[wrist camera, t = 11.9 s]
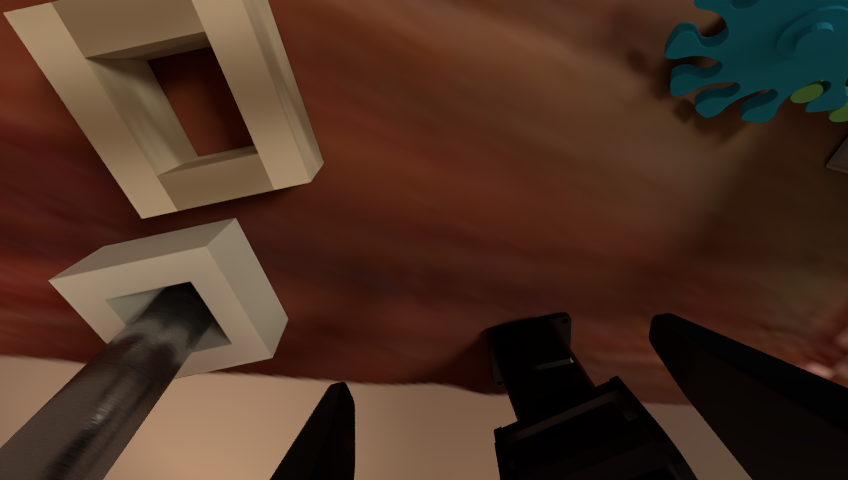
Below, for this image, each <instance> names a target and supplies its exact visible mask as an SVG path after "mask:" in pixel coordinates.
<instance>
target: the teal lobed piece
mask: <svg viewBox="0 0 848 480" xmlns="http://www.w3.org/2000/svg"><path fill="white" fill-rule="evenodd" d="M694 4H695V6H696V7H697V8H699V9H703V10H710V11H713V12H716V13H717V14H719V15H720V16H721V17H722V18H723V19H724V20H725V22H726V24H727V27H726V28H725V29H724V30H723V31H722V32H721V33H719V34H717V35H715V36H712V37H703V36H701V35H700V34H699V31H698V29H697V27H696V25H695V24H693V23H691V22H683V23H679V24H678V25H677V26H676V27H675V28H674V30H673V31H672V33H671V34H670V36H669V38H668V40H667V42H666V44H665V55H664V56H665V57H666V58H669V59H679V58H683V57H689V56H705V57H709V58H712V59H715V60H717V61H719V62H717V63H716V64H715V65H713V66H711V67H708V68H698V67H696V66H693V65H690V64H683V65H679V66H676V67H675V68H673V69H672V72H671V80H670V89H671V94H672V96H681V95H684V94H687V93H689V92H690V91H692V90H694V89H697V88H699V87H702V86H705V85H709V84H713V83H721V82H735V83H734V84H732V85H731V86H728V87H725V88H713V89H707V90H704V91H702V92H700V93H699V94H697V95H696V96H695V109H696V111H697V112H698V113H699V114H701V115H702V116H704V117H705V118H710V117H713V116H715V115H718V114H719V113H720V112H722V111H723V110H724V109H725V108H726V107H727V106H728V105H730V104H731V103H733V102H734V101H736V100H738V99H740V98H742V97H744V96H747V95H749V94H752V93H755V92H758V91H761V90H765V89H771V90H770V91H768V92H766V93H763V94H760V95H757V96H755V97H752V98H750V99H748V100H746V101H745V102H744V103H743V104H742V105H741V107H740V113H741V119H742V120H744V121H748V122H756V123H765V122H767V121H769V120H770V119H772V118H773V117H774V116H775V114H776V111H777V109H778V107H779V106H780V104H781V103H782V102H783V101H784V100H785V99H786V98H787V97H789V96H790V99H791V101H792V102H794V103H805V108H806V111H807V112H821V111H827V112H828V116H829V119H830V120H831V121H833V122H844V121H848V86H847V87H846V86H845V82H846V80H847V78H848V0H694Z"/></svg>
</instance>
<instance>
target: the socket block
mask: <svg viewBox="0 0 848 480" xmlns="http://www.w3.org/2000/svg"><path fill="white" fill-rule="evenodd" d="M48 281H49V282H50V283H51V284H52V285H53V286H54V287H55V288H56V289H57V290H58V292H59V293H60V294H61V295H62V296H63V297H64V298H65V299H66V300H67V301H68V302H69V303H70V305H71V306H72V307H73V308H74V309H75V310H76V311H77V312H78V313H79V314H80V315H81V316H82V318H83V319H84V320H85V321H86V322H87V323H88V324H89V325H90V326H91V327H92V328H93V329H94V331H95V332H96V333H97V334H98V335H99V336H100V337H101V338H102V339H103V340H104V341H105V342H106V344H108V343H109V342H110V341H111V340H112V339H113V338H114V337H115V336H116V335H117V334H118V333H119V332H120V331H121V330H122V329H123V328H124V327H125V326H126V325H127V324H128V323H129V322H130V321H131V320H133V319H134V318H135V317H136V316H137V315H138V314H139V313H140V312H141V311H142V310H143V309H144V308H145V307H146V306H147V305H148V304H149V303H150V302H151V301H152V300H153V299H154V298H155V297H156V296H157V295H158V294H159V293H160V292H161V291H162V290H163V289H164V288H165V287H166V286H171V285H175V284H180V283H185V282H189V281H191V282H192V284H193V285H194V287H195V288H196V290H197V292H198V293H199V295H200V296H201V298H202V299H203V301H204V302H205V304H206V305H207V307H208V308H209V310H210V311H211V313H212V314H213V316H214V317H215V320H214V321H213V323H212V324H211V325H210V327H209V328H208V330H207V331H206V333H205V334H204V335H203V337H202V338H201V340H200V341H199V343H198V344H197V345H196V347H195V348H194V350H193V351H192V353H191V354H190V356H189V357H188V358H187V360H186V361H185V363H184V364H183V366H182V367H181V368H180V370H179V371H178V373H177V374H176V376H175V377H174V378H173V379H177V378H181V377H186V376H191V375H195V374H200V373H205V372H209V371H214V370H219V369H223V368H228V367H233V366H237V365H242V364H246V363H251V362H256V361H260V360H265V359H270V358H273V356H274V353H275V351H276V348H277V346H278V343H279V341H280V338H281V336H282V333H283V331H284V328H285V326H286V323H287V321H288V317H287V315H286V314H285V312H284V310H283V308H282V306H281V304H280V302H279V300H278V298H277V296H276V294H275V292H274V290H273V289H272V287H271V285H270V283H269V281H268V279H267V277H266V275H265V273H264V271H263V269H262V267H261V266H260V264H259V262H258V260H257V258H256V256H255V254H254V252H253V250H252V248H251V246H250V244H249V242H248V241H247V239H246V237H245V235H244V233H243V231H242V229H241V227H240V225H239V223H238V221H237V219H236V218H232V219H228V220H223V221H219V222H214V223H209V224H205V225H200V226H196V227H191V228H186V229H182V230H177V231H173V232H168V233H163V234H159V235H154V236H150V237H145V238H140V239H136V240H131V241H126V242H122V243H117V244H113V245H108V246H104V247H102V248H100V249H99V250H97V251H95V252H94V253H92V254H91V255H89V256H87V257H86V258H84V259H82V260H81V261H79V262H78V263H76V264H74V265H73V266H71V267H69V268H68V269H66V270H65V271H63V272H61V273H60V274H58V275H56V276H55V277H53V278H52V279H50V280H48Z"/></svg>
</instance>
